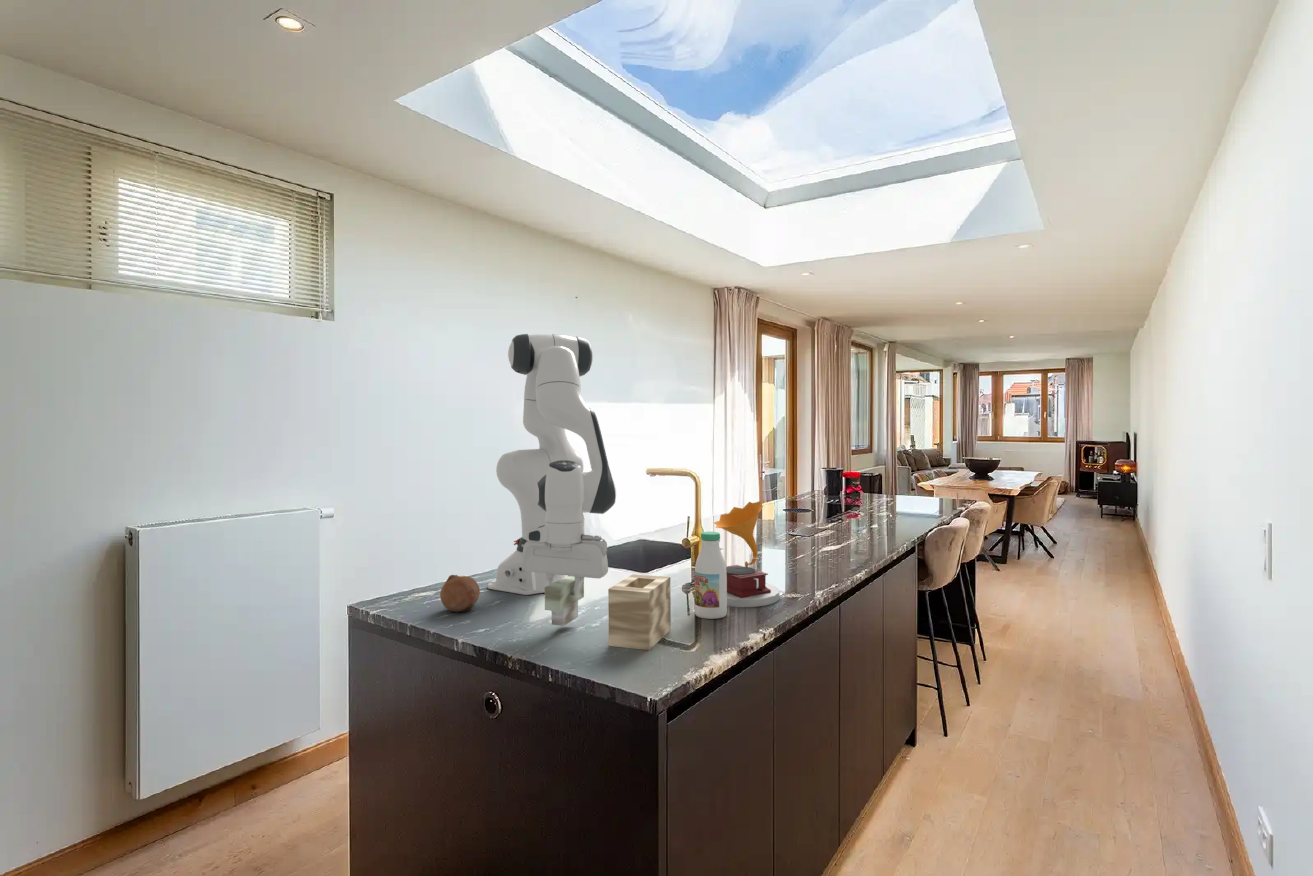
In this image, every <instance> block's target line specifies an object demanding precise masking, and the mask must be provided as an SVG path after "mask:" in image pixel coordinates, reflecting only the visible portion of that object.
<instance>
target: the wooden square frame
mask: <svg viewBox="0 0 1313 876" xmlns="http://www.w3.org/2000/svg"><path fill="white" fill-rule="evenodd" d="M607 590H608V592H607V593H608V595H607V596H608V598H607V599H608V600H607V601H608V602H607V603H608V604H607V605H608V646H609V647H610V646H611V647H619V648H624V649H625V648H626V649H634V650H642V651H643V650H645V651H650V650H651V649H652V648H653V647H654V646H656V644H658V642H660V641H661V639H663V638H664V637H665V636H666V635H667V634H668V633H669V632H670V631H671V629H672V626H671V625H672V624H671V623H672V622H671V613H672V612H671V605H672V604H671V603H672V602H671V576H661V575H659V576H658V575H650V574H648V575H646V574H637V573H636V574H634V573H633V574H631V575H629V576H628V577H626V578H624V579H623V580H621V581H619V582H617V583H616V584H613V585H612V586H610V587H609V588H608V589H607Z"/></svg>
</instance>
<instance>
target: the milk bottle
mask: <svg viewBox="0 0 1313 876" xmlns="http://www.w3.org/2000/svg"><path fill="white" fill-rule="evenodd" d="M700 539H701V541H700V542H701V548H700V552H699V554H698V556H697V559H696V560H695V566H694V613H695V614H694V615H695V616H696V617H697V618H701V619H706V620H707V619H709V620H716V619H721V618H724V617H726V616H727V613H728V611H727V609H728V606H727V573H726V565H727V564H726V561H725V558H724V556H723V553H722V552H721V548H720V542H721V534H720V532H718V531H703V532H701V533H700Z"/></svg>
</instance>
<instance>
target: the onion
mask: <svg viewBox="0 0 1313 876" xmlns="http://www.w3.org/2000/svg"><path fill="white" fill-rule="evenodd" d="M439 593H440V594H439V596H440V597H439V598H440V601H441V604H442V605H443V606H444V608H445V609H446V610H447V611H449V612H452V611H453V612H455V613H456V612H457V613H459V611H460V612H461V613H465V612H469V611H471V610H472V609H473V608H474V607H475V605H476V603H477V601H478V600H479V597H480V594H481V591H480V585H479V584H478V582H477V581H476V580H475V579H474V578H472V577H471V576H466V575H460V576H459V575H458V574H451V575H449V576H448V578H447V579H446V580H445V583H444V584H443V585H442V586H441V590H440V592H439Z"/></svg>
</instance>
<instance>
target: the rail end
mask: <svg viewBox="0 0 1313 876" xmlns="http://www.w3.org/2000/svg"><path fill="white" fill-rule="evenodd" d="M576 582H577V581H575V577H574V576H567V575H566V577H564V578H562V579H560V580H558V581H556V582H554V583H552V584H550V585H548V586H546V587H545V593H544V610H545V611H551V625H552V626H561V627H564V626H566V625H568V624H569V623H570V622H573V621H574V620H575V619H578V617H579V601H580V600H582V599H583V598H585V597H584V596H585V579H584V580H583V582H582V584H581V586H580V593H579V595H577V596H574V595H570V592H571V591H570V588H571V587H573V586H575V584H576Z"/></svg>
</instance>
